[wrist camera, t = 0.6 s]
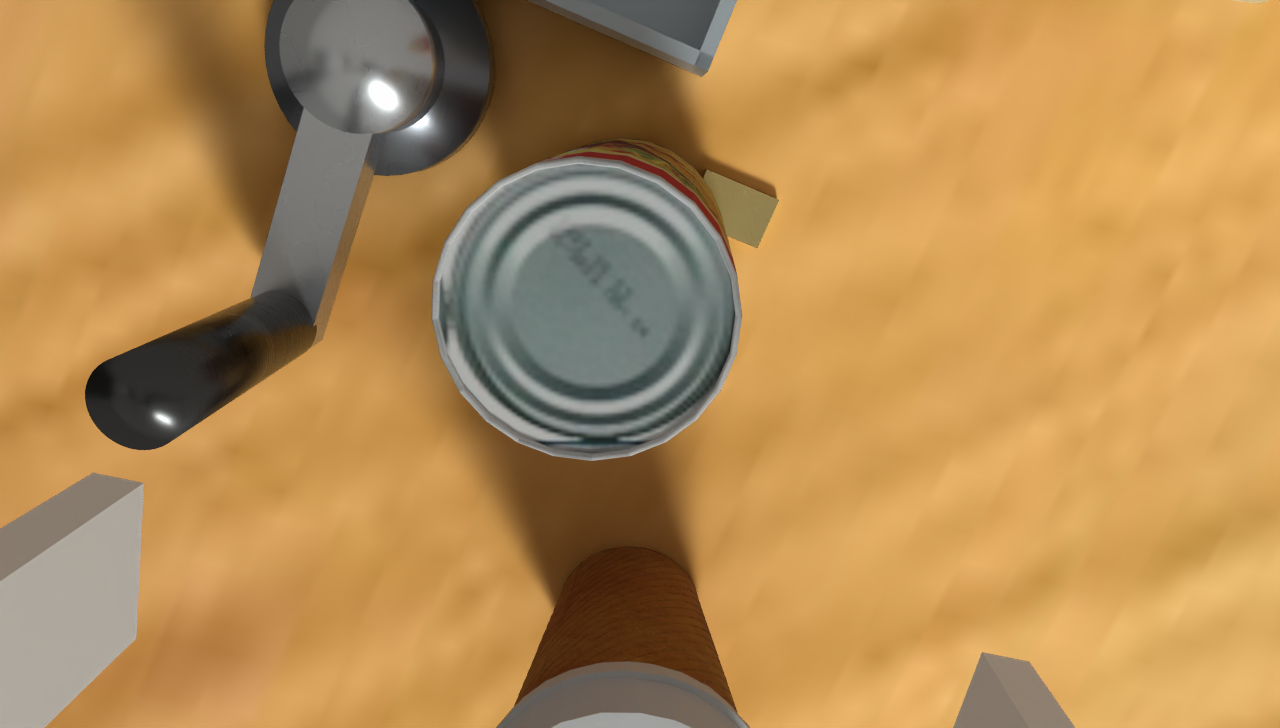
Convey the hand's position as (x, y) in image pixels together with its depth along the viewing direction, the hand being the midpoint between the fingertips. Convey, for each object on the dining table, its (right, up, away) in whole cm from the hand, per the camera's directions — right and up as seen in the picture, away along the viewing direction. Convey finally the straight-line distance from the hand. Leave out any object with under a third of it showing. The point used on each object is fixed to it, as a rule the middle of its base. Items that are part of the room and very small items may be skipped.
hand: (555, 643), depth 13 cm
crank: (-10, +11, +17) cm, 23 cm away
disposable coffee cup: (+1, -7, +24) cm, 25 cm away
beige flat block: (+5, +10, +19) cm, 22 cm away
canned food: (+1, +9, +19) cm, 21 cm away
